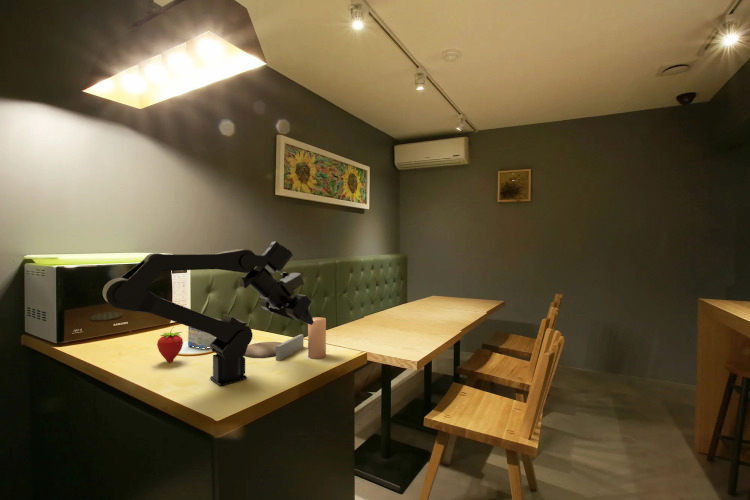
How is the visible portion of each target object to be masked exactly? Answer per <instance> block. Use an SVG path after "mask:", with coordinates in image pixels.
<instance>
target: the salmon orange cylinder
mask: <svg viewBox="0 0 750 500" xmlns="http://www.w3.org/2000/svg"><path fill="white" fill-rule="evenodd" d="M312 319H313V321H314V323H313V324H312V325H310V324H307V355H308V356H307V357H308V358H309V359H314V360H318V359H324V358H326V357H327V318H326V317H322V316H321V317H319V316H317V317H316V316H315V317H314V316H313V317H312Z"/></svg>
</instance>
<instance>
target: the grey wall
mask: <svg viewBox="0 0 750 500" xmlns="http://www.w3.org/2000/svg"><path fill="white" fill-rule="evenodd" d="M303 348H304V334H298V335H296V336H294V337H292V338H290V339H287V340H285V341H284V342H281V344H279V345H277V346H276V356H275V361H282V360H283V359H285V358H287V357H289V356H291V355H292V354H294V353H296V352H298V351H299V350H301V349H303Z"/></svg>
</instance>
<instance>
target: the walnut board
mask: <svg viewBox="0 0 750 500" xmlns="http://www.w3.org/2000/svg"><path fill="white" fill-rule="evenodd" d="M281 343H282V342H279V341H263V342H262V341H261V342H257V343H255V342H254V343H250V344H249V345H248V347H247V350H246V353H245V355H244V356H243V357H245V358H246V357H247V358H251V359H252V358H255V359H256V358H257V359H262V358H270V357H276V346H277V345H279V344H281Z"/></svg>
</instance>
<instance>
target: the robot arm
mask: <svg viewBox="0 0 750 500" xmlns="http://www.w3.org/2000/svg"><path fill="white" fill-rule="evenodd" d="M293 258H294V254H293V253H292V251H290V249H289V248H287V247H286V246H284V245H283V244H281V243H279V242H278V241H272V242H271V243H270V244H269V245H268V247H267V248H266V249H265V250H264V252H263V253H262V254H255V253H254V251H252V250H250V249H240V248H239V249H238V248H237V249H230V250H226V251H220V252H215V253H173V254H171V253H169V254H168V253H164V254H163V253H159V252H157V253H156V252H154V253H153V252H152V253H149V254H147V255H146V256H145V257H144V259H143V260H141V261H140V262H139V263H137V264H136V265H135V266H132V268H131V269H129V270H128V271H127V272H126V273H124V274H123V275H122V276H121V277H116V278H113V279H111V280H109V281H108V282H106V284H104V287H103V289H102V296H103V299H104V300H105V302H107V303H108V304H109V305H110V306H111V307H113V308H115V309H119V310H124V311H129V312H136V313H145V314H151V315H155V316H157V317H160V318H164V319H166V320H170V321H172V322H175V323H177V324H181V325H183V326H186V327H188V326H189V327H191V328H194V329H197V330H200V331H203V332H206V333H209V334H211V335H212V336H214V337H215V340H214V341H213V342H212V343H211V344H210V347H211V348H210V349H211V351H212V352H213V353H215V354H212V375H211V376H210V378H209V379H210V380H211V381H212V382H213V383H216V384H217V385H219V386H225V385H229V384H232V383H236V382H239V381H242V380H243V381H244V380H245V379H247V378H248V377H247V375H245V374H246V356H244V355H245V353H246V350H247V347H248V345H251V342H252V339H253V330H252V328H251V327H249V326H247V325H248V322H245V321H243V320H241V319H238V318H234V317H233V316H230V315H228V314H226V313H223V314H222V317H221V318H216V317H215V318H214V317H213V316H209V315H208V314H207V315H206V314H204V313H201V312H199V311H197V310H193V309H191V308H188V307H186V306H183V305H182V304H178V303H176V302H173V301H170V300H167V299H165V298H162V297H160V296H158V295H156V294H155V293H153V292H152V291H150V290H149V289H147V288H149V286H150V285H151V284H153V282H154V281H155V280H156V279H157V278H158V276H159V275H161V274H162V273H163V272H171V271H174V272H175V271H197V270H198V271H199V270H200V271H202V270H204V271H205V270H206V271H207V270H220V271H221V270H222V271H229V272H234V273H235V272H237V273H243V274H245V275H244V276H239V277H238V278H239V282H238V287H239V288H243V289H247V288H248V287H249V286H250V287H251V288H252V289H254V290H255V291H256V292H257V293H258V294H259V295H258V297H259V298H260V299H261V300H260V307H261V308H262V309H263V310H265V311H268V312H270V313H272V314H275V315H278V316H281V317H284V318H286V319H289V320H292V321H294V320H297V321H299V322H301V323H305V324H306V325H308V324H310V325H312V324H313V323H314V321H313V319H312V318H313V317H312V315H311V313H310V310H309V307H310V305H311V303H312V301H313V300H312V299H311V297H309V295H305V294H300V293H299V294H298V293H297V294H295V291H294V290H296V289H298V288H299V287H301V286H304V285H305V280H304V278H303V276H302V274H301V273H300V272H290V273H288V272H286V271H283V269H284V268H285V267H286V266H287V265H288V264H289V262H290V261H291V260H292V259H293ZM281 271H283V272H281ZM275 273H279V279H277V278H276V277H275V276H274V275H273V274H275ZM294 294H295V296H294V297H292V296H293V295H294Z"/></svg>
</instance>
